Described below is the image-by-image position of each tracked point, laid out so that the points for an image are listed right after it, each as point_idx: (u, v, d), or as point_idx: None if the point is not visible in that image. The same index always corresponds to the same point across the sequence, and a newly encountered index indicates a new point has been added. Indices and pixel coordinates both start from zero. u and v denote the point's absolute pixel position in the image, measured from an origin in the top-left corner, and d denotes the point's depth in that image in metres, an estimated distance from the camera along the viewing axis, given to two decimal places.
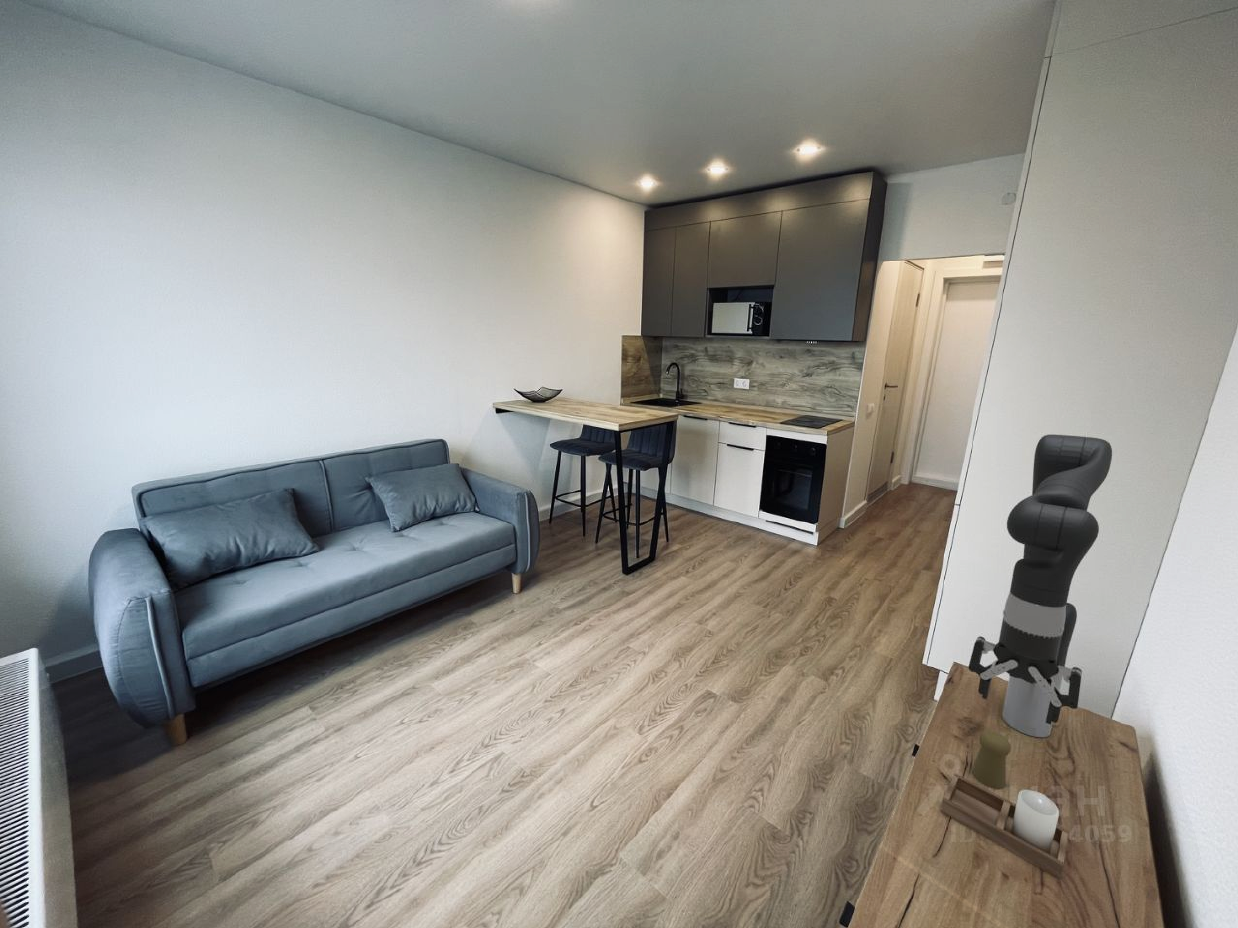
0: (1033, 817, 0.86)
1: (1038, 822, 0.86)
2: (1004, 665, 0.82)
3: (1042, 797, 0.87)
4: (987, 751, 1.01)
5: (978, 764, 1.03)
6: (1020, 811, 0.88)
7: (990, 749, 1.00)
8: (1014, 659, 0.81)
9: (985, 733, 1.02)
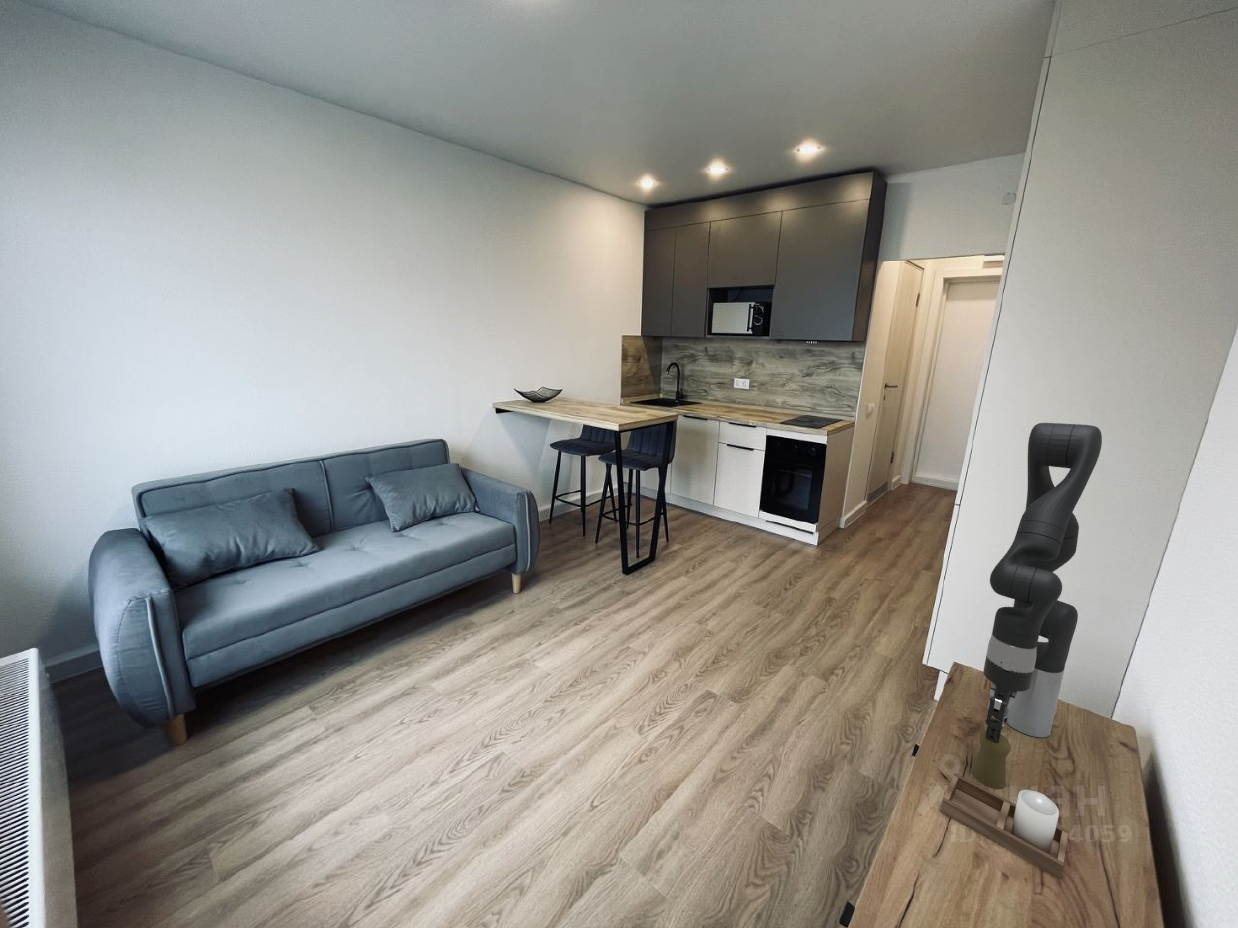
0: (1033, 817, 0.86)
1: (1038, 822, 0.86)
2: (1011, 705, 0.96)
3: (1042, 797, 0.87)
4: (987, 751, 1.01)
5: (978, 764, 1.03)
6: (1020, 811, 0.88)
7: (990, 749, 1.00)
8: (1012, 695, 0.97)
9: (985, 733, 1.02)
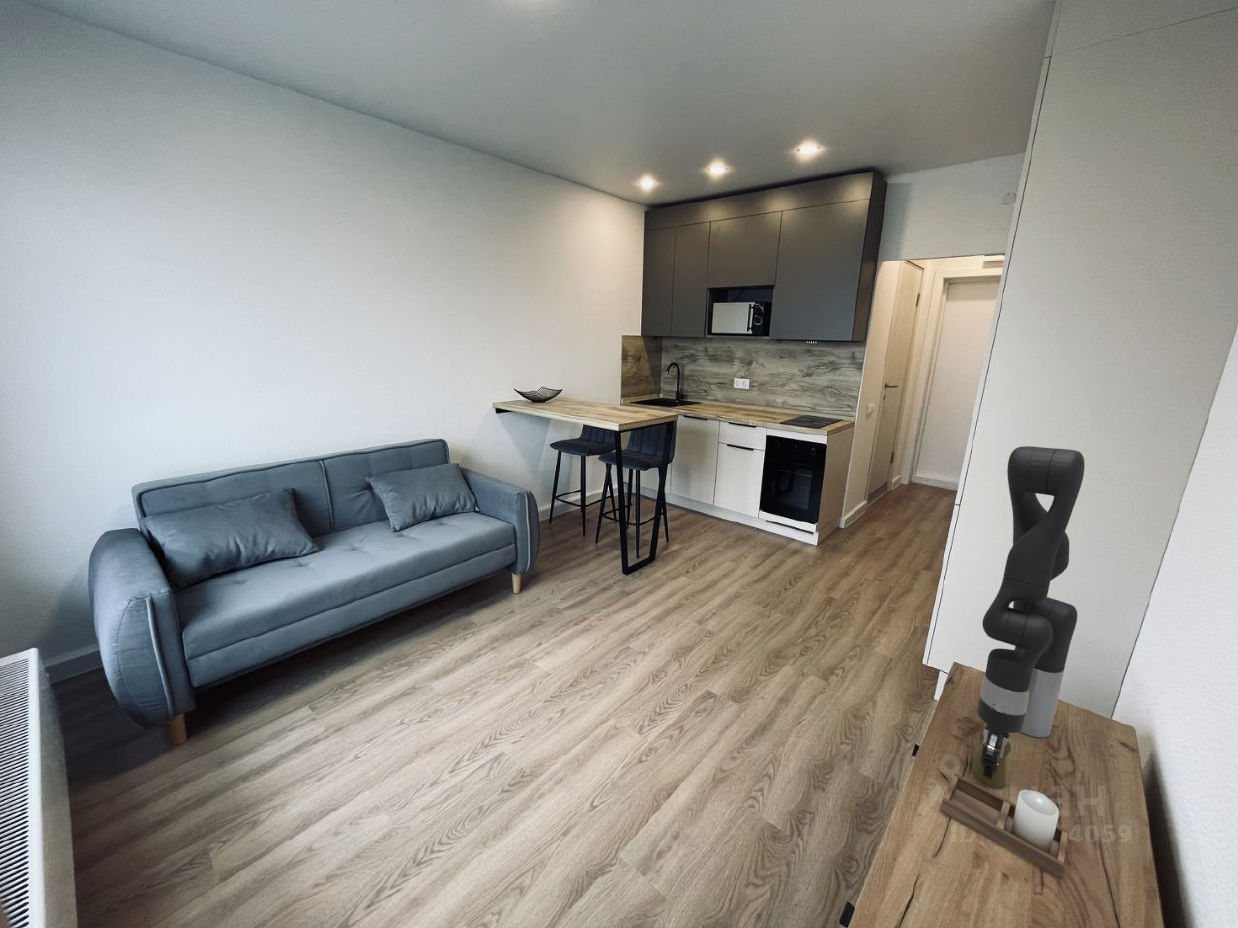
0: (1033, 817, 0.86)
1: (1038, 822, 0.86)
2: (1004, 745, 0.99)
3: (1042, 797, 0.87)
4: None
5: (978, 764, 1.03)
6: (1020, 811, 0.88)
7: None
8: (1005, 736, 0.99)
9: None
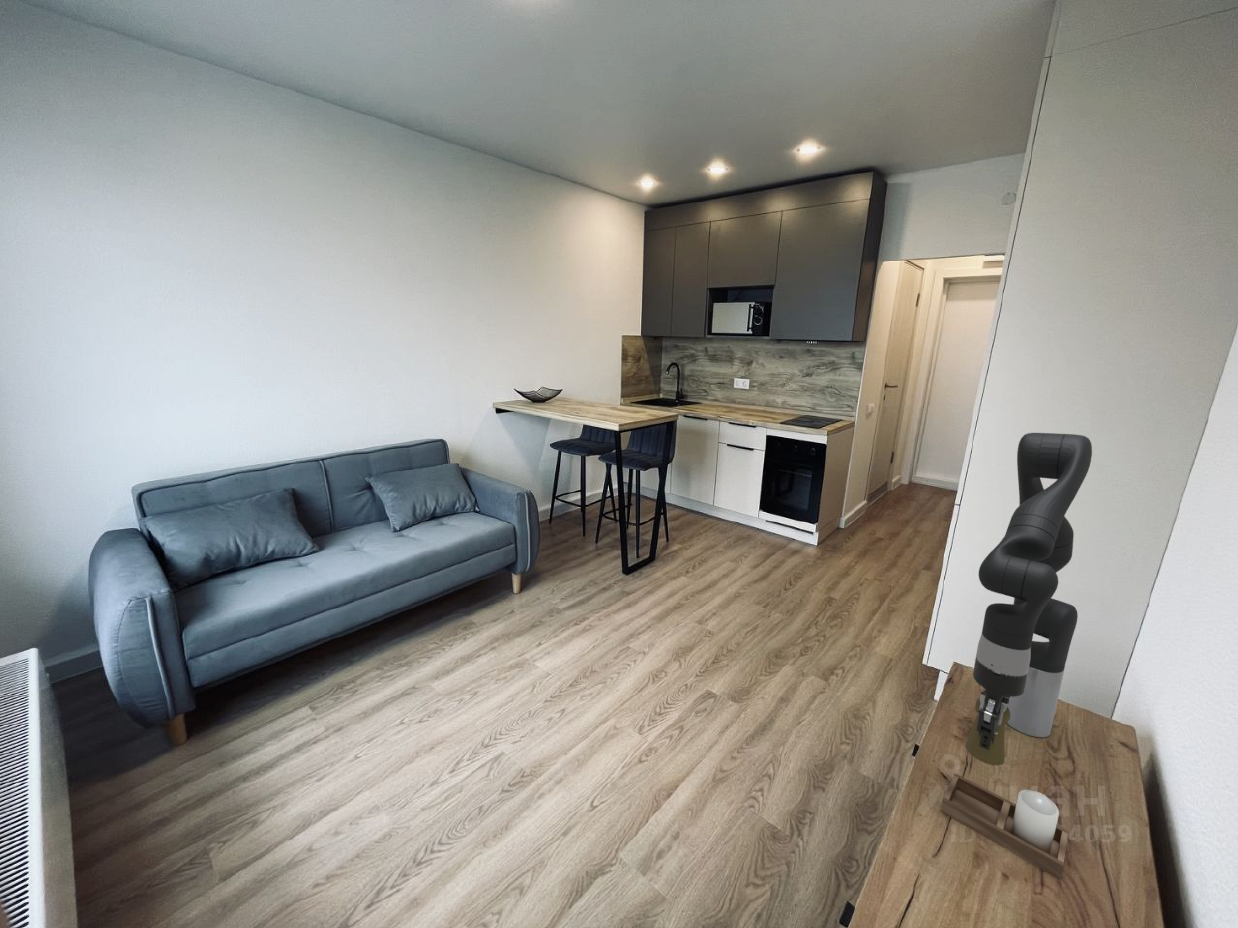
0: (1033, 817, 0.86)
1: (1038, 822, 0.86)
2: (1003, 712, 0.88)
3: (1042, 797, 0.87)
4: None
5: (974, 734, 0.92)
6: (1020, 811, 0.88)
7: None
8: (1004, 701, 0.88)
9: None
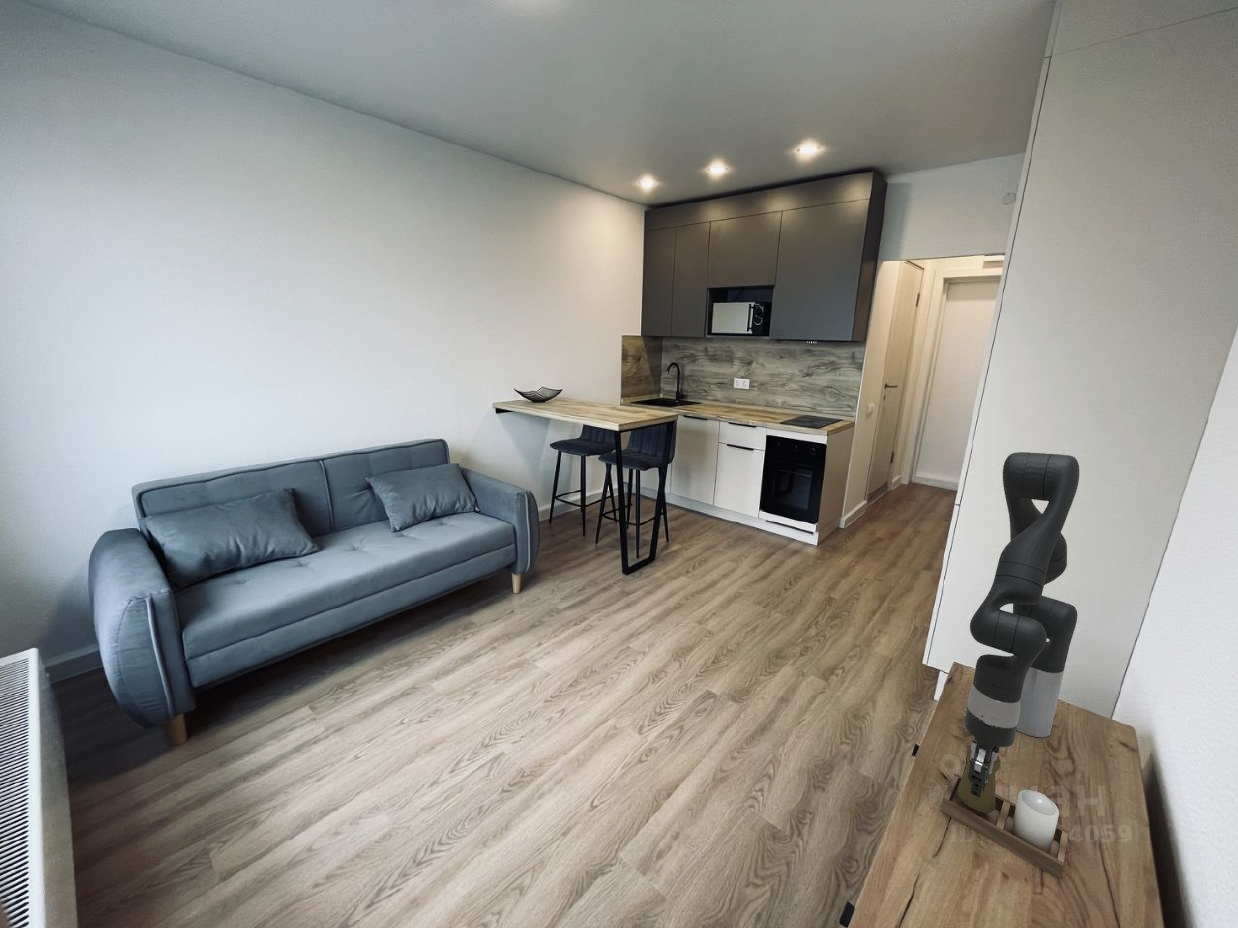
0: (1033, 817, 0.86)
1: (1038, 822, 0.86)
2: None
3: (1042, 797, 0.87)
4: None
5: (965, 780, 0.94)
6: (1020, 811, 0.88)
7: None
8: (995, 751, 0.90)
9: None
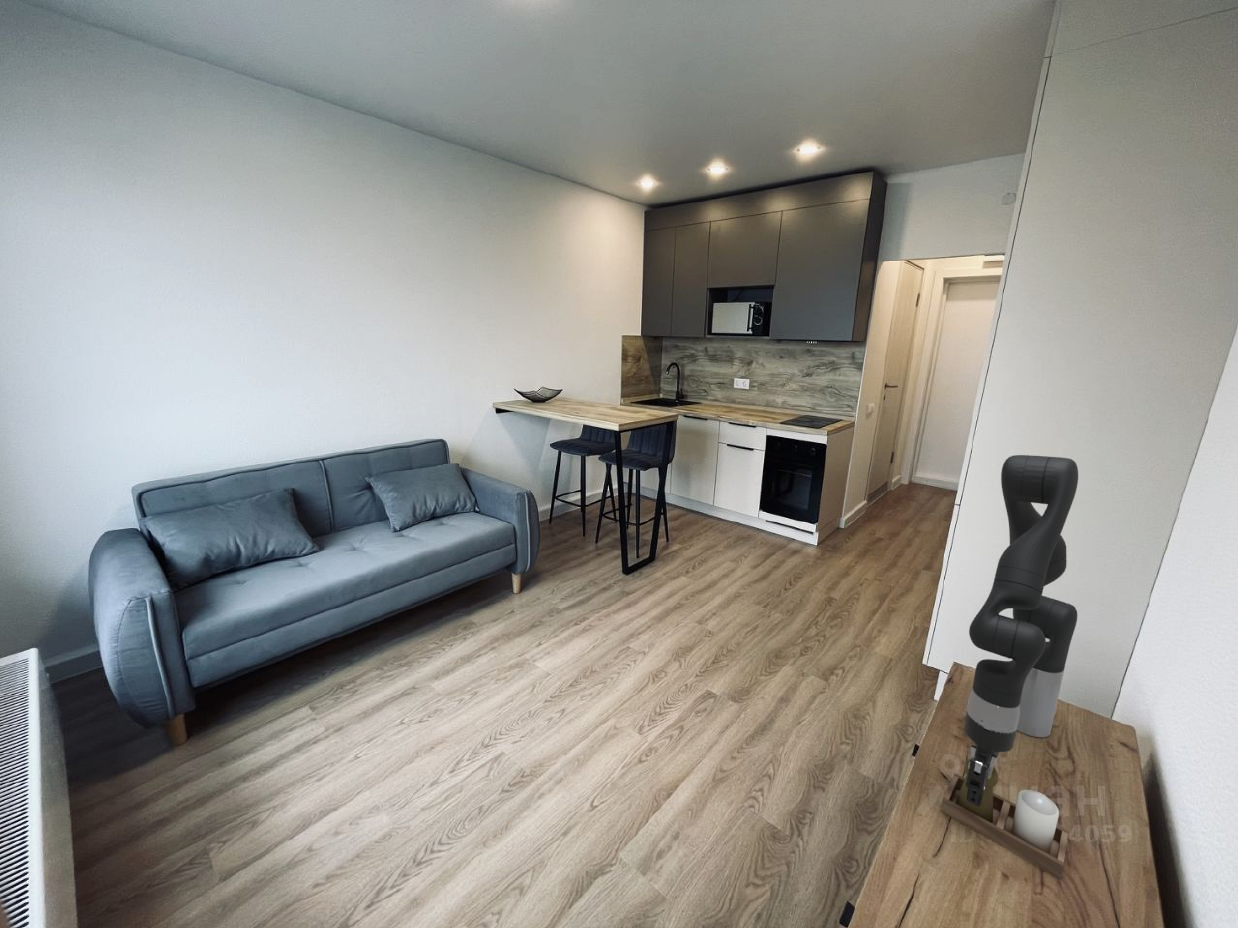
0: (1033, 817, 0.86)
1: (1038, 822, 0.86)
2: (993, 766, 0.90)
3: (1042, 797, 0.87)
4: None
5: (963, 794, 0.95)
6: (1020, 811, 0.88)
7: None
8: (994, 754, 0.90)
9: None
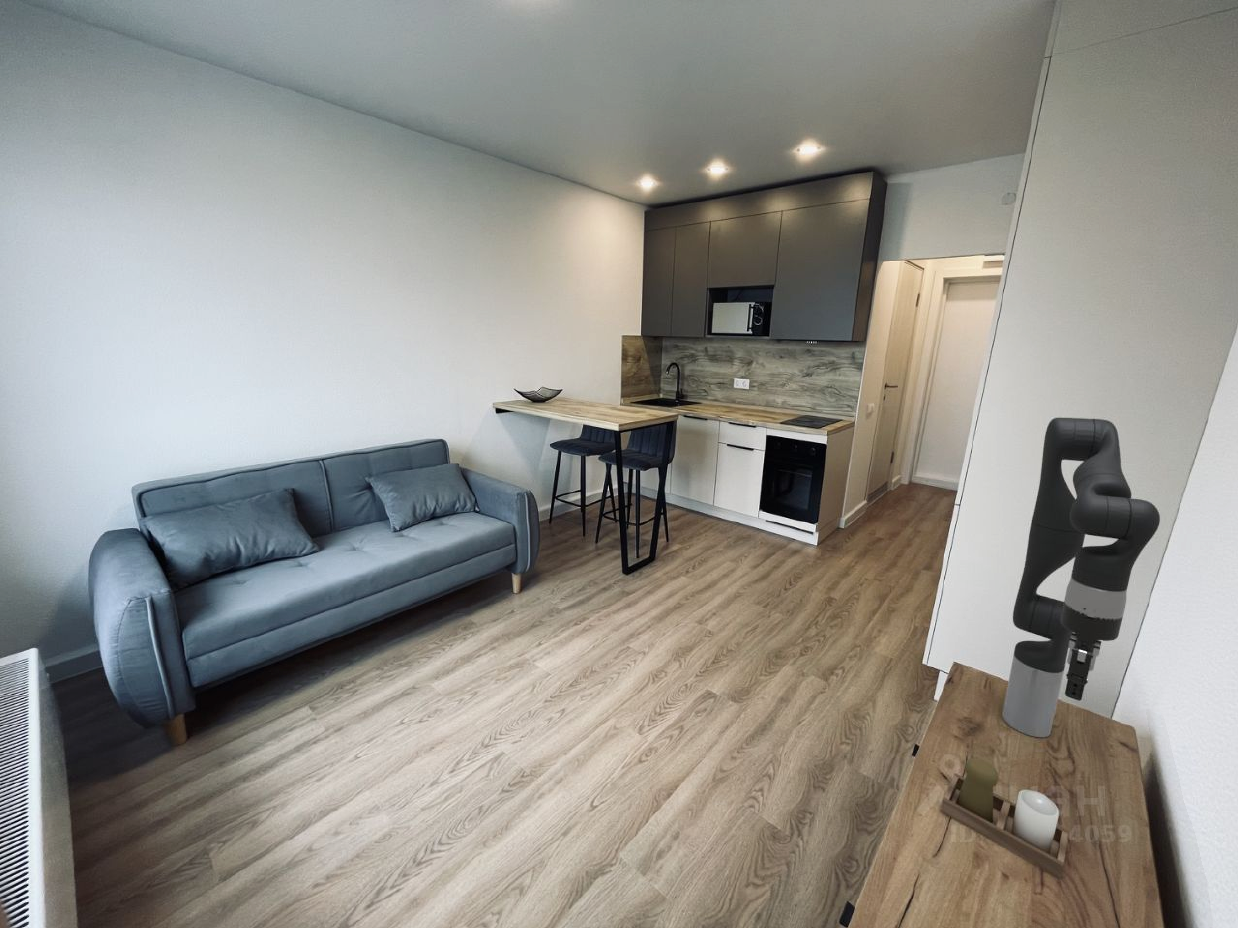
0: (1033, 817, 0.86)
1: (1038, 822, 0.86)
2: None
3: (1042, 797, 0.87)
4: (972, 781, 0.93)
5: (963, 794, 0.95)
6: (1020, 811, 0.88)
7: (976, 778, 0.92)
8: (1097, 646, 0.85)
9: (971, 761, 0.94)
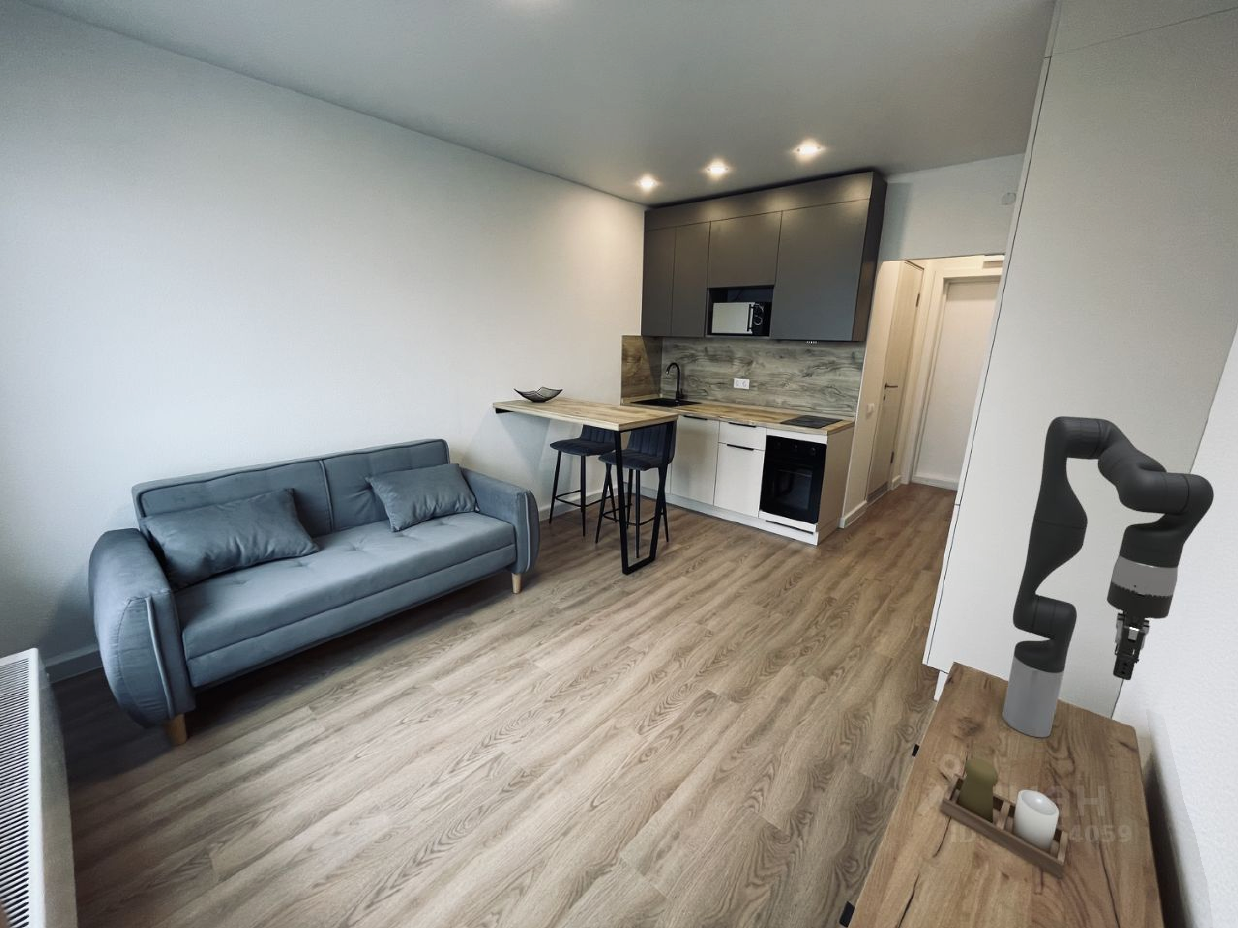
0: (1033, 817, 0.86)
1: (1038, 822, 0.86)
2: (1145, 635, 0.84)
3: (1042, 797, 0.87)
4: (972, 781, 0.93)
5: (963, 794, 0.95)
6: (1020, 811, 0.88)
7: (976, 779, 0.92)
8: (1146, 624, 0.84)
9: (971, 761, 0.94)
